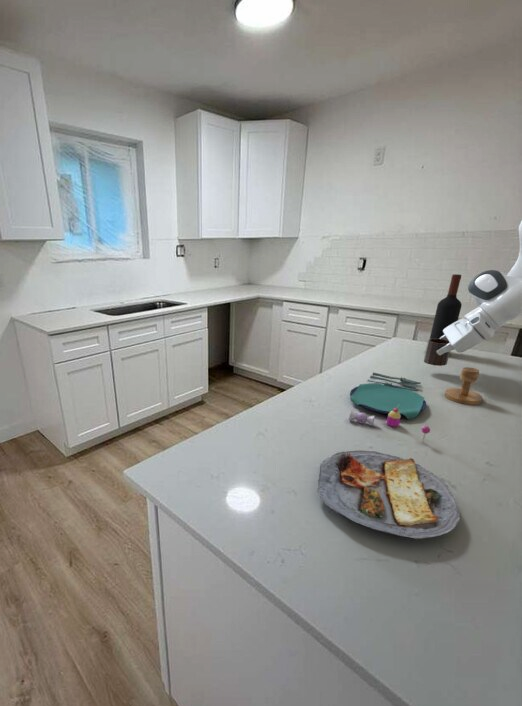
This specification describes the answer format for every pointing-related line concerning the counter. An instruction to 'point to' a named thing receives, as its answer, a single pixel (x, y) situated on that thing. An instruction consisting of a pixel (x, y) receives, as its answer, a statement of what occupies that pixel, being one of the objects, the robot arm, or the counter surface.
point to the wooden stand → (465, 388)
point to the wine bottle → (447, 309)
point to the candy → (391, 420)
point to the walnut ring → (431, 354)
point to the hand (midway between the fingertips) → (435, 349)
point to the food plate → (387, 494)
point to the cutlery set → (389, 396)
